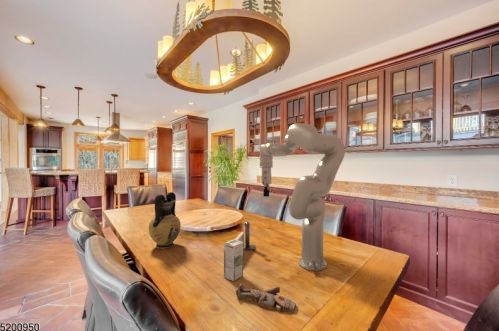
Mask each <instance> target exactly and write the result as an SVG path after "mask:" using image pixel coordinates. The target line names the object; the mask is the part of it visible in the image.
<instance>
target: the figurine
mask: <svg viewBox="0 0 499 331" xmlns="http://www.w3.org/2000/svg"><path fill="white" fill-rule="evenodd" d="M238 286H239V287H237V288H236V289H235V295H236V298H237V300H241V299H246V300H251V301H253V302H255V303H258V306H261V307H263V308H266V309H268V310H269V309H270V310H274V309H275V310H276V312H285V313H291V314H292V313H294V311H295V308H296V305H297V302H294V301H293V300H292V299H290V298H288V297H287V298H286V297H283V296H282V295H278V294H280V290H281V287H280V286H276V287H273V288H268V289H265V290H264V291H262V290H259V289H252V288H245V287H244V284H243V283H240V284H239V285H238Z"/></svg>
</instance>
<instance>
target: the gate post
mask: <svg viewBox="0 0 499 331" xmlns="http://www.w3.org/2000/svg"><path fill="white" fill-rule="evenodd" d="M250 225H251V223H250V222H249V221H246V222H245V223H244V229H245V232H244V251H255V249H256V245H255V244H253V245H252V244H250V243H251V242H250V239H251V238H250V237H251V236H250V235H251V234H250Z"/></svg>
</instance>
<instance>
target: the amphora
mask: <svg viewBox="0 0 499 331" xmlns="http://www.w3.org/2000/svg"><path fill="white" fill-rule="evenodd" d="M153 201H154V217H152V219H151V220H150V222H149V224H148V232H149V237H150V238H151V240H152V241H153V242H154V243H156V246H155V247H156V249H164V250H165V249H170V248H172V247H174V245H175V244H174V241H175V240H177V238H178V236H179V234H180V232H181V227H182V226H181V221H180V218H179V217H178V216H177V215H176V201H177V196H176V193H174V192H172V191H170V192H168V193H167V194H166V196H165V195H163V194H157V195H156V196H155V197H154V200H153Z"/></svg>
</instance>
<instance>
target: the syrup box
mask: <svg viewBox="0 0 499 331" xmlns="http://www.w3.org/2000/svg"><path fill="white" fill-rule="evenodd" d="M234 239H235V238H234ZM234 239H231V240H229V241H226V242H224V243H223V278H225V279H227V280H229V281H232V282H235V281H237V280H239V279H240V278H242V277H243V276H244V248H243V242H241V241H238V240H234Z"/></svg>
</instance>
